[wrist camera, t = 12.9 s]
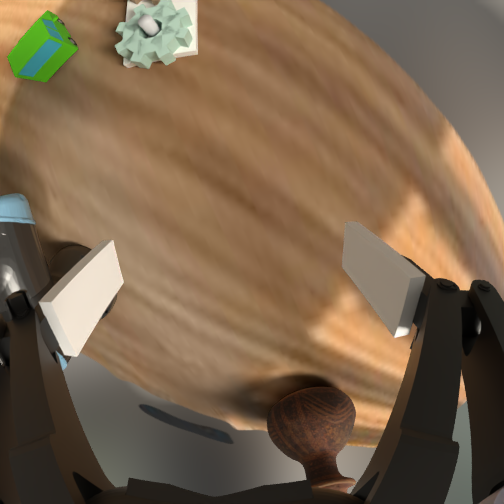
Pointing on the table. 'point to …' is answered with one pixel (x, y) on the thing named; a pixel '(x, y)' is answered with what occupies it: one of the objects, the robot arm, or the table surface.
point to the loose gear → (164, 42)
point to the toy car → (42, 49)
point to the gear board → (152, 29)
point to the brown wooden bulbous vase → (314, 432)
